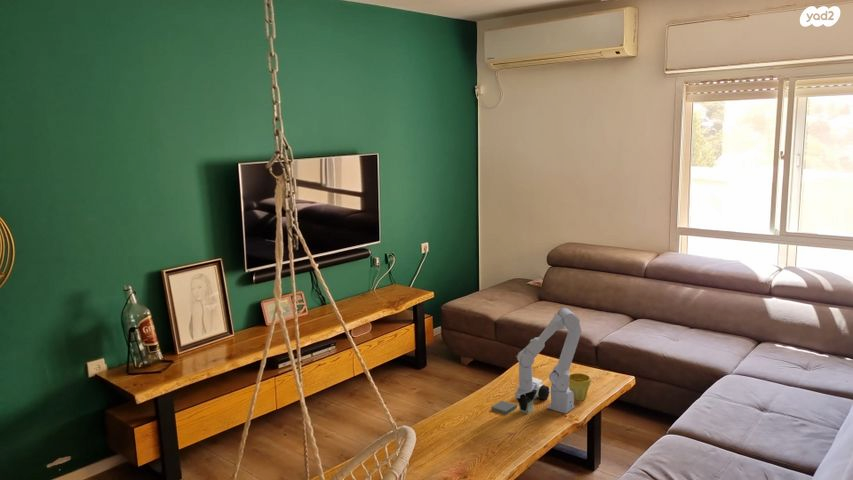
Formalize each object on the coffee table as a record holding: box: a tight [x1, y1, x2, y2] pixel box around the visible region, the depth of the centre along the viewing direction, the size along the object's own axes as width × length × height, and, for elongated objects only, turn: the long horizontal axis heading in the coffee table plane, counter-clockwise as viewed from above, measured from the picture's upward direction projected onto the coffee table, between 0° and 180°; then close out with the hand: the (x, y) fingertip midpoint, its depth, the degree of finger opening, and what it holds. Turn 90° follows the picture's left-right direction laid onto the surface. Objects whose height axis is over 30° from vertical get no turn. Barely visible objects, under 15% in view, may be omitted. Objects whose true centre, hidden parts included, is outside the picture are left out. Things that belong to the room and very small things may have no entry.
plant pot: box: [568, 372, 592, 402], centre depth 295 cm, size 10×10×10 cm
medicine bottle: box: [524, 376, 551, 401], centre depth 298 cm, size 7×7×12 cm
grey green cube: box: [519, 398, 535, 415], centre depth 284 cm, size 5×5×5 cm
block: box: [490, 400, 518, 416], centre depth 288 cm, size 8×8×2 cm
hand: (526, 407), depth 285 cm, fingers closed on grey green cube, 4 cm apart
